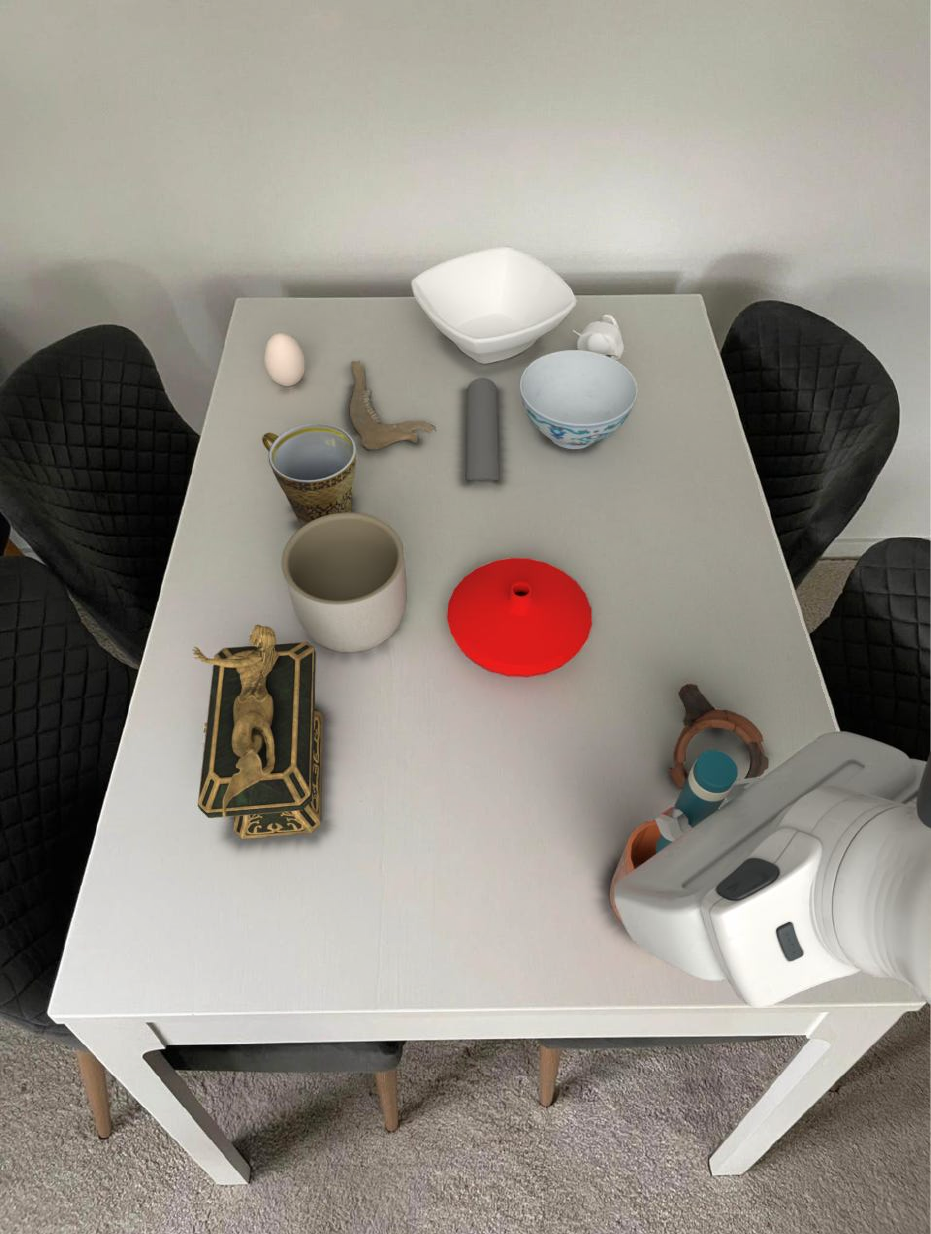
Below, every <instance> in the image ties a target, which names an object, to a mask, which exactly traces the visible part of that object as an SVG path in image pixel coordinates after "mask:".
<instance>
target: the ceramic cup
mask: <svg viewBox="0 0 931 1234" xmlns="http://www.w3.org/2000/svg"><path fill="white" fill-rule="evenodd" d="M261 440H262V444H263V446H264V448H265V449H266V450H267V451H268V464H269V466H270V469H271V470H272V472H273V475H274V477H275V479H276V481H277V483H278V486H279V487H280V488H281V490H282V491H283V493H284V495H285V497H286V499H287V501H288V503H289V505H290V507H291V509H292V511H293V513H294V516H295V517H296V519H297V521H298V522H299V523H300V524H301V525H303V526H304V525H306V524H308V523H309V522H311V521H313V520H315V519H317V518H320V517H323V516H326V515H330V514H335V513H345V512H352V508H353V507H352V506H353V505H352V504H353V503H352V502H353V492H354V480H355V475H356V462H357V461H356V460H357V447H356V442H355V441H354V439H353V438H352V436H351V434H349V433H348V432H347V431H346V430H344V429H342V428H340V427H338V426H335V425H333V424H327V423H320V422H319V423H318V422H317V423H305V424H302V425H297V426H295V427H292V428H290V429H288V430H285V431H284V432H283V433H281V434H280V435H278V434H276V433H273V432H266V433H265V434H263V436H262V437H261ZM270 443H271V444H270Z"/></svg>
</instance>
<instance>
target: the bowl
mask: <svg viewBox="0 0 931 1234" xmlns="http://www.w3.org/2000/svg"><path fill="white" fill-rule="evenodd" d="M410 286H411V290H412V294H413V297H414V299H415V300H416V302H417V303H418V304H419V306H420V307H421V309H422V310H423V311H424V313H425V314H426V316H427V317H428V318H429V320H430V321H431V322H432V323H433V324H434V326H435V327H436V328H437V329H438V330H439V332H441V333H442V334H443V335H444V336H446V337H447V338H448V339H449V340H450V341H452V342H453V343H454V344H455V346H456V347H457V348H458V349H459V350H460V351H461V352H462V353H464V355H466V356H467V357H469V358H471V359H472V360H474V361H476V362H477V363H480V364H492V363H496V362H500V361H504V360H507V359H510V358H513V357H515V356H517V355H519V354H521V353H523V352H524V351H527V350H528V349H530V348H531V347H532V346H533V345H534V344H535V343H536V342H537V341H539V339H540V338H541V337H542V336H543V335H546V334H547V333H549V332H550V331H553V330H555V328H556V327H558V325H560V324H561V323H562V322H563V320H565V318H566V317H567V316H568V315H569V314H570V313H571V311H572V310H573V309H574V308H576V305H577V302H578V301H577V298H576V296H575V294H574V292H573V289H572V288H571V287H570V286H569V285H568V284H567V282H566V281H565V280H564V279H563V277H561V276H560V275H558V273H557V272H555V271H554V270H553V268H551V267H549V266H548V265H546V264H545V263H543V262H542V261H540V260H539V259H538V258H536V257H534V256H532V255H531V254H529V253H526V252H524V251H522V250H519V249H517V248H514V247H512V246H500V247H499V246H497V247H489V248H485V249H481V250H478V251H473V252H470V253H469V252H468V253H466V254H463V255H460V256H455V257H453V258H451V259H448V260H445V261H443V262H441V263H440V262H439V263H438V264H436V265H433V266H432V267H430V268H428V269H426V270H424V271H422V272H421V273H420V274H418V275H417V276H416V277H414V278H413V279H412V280H411V282H410Z"/></svg>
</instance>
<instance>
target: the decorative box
mask: <svg viewBox="0 0 931 1234" xmlns="http://www.w3.org/2000/svg"><path fill="white" fill-rule="evenodd" d="M276 636H277V635H276V632H275V630H273V629H272V628H271V627H270V626H265V625H261V624H258V623H257V624H254V627H253V629H252V631H251V634H250V635H249V636H248V638H249V643H250V644H251V645H243V646H232V647H222V648H221V649H220V650H219V651H218V652H217V653H215V654H214V656H213V658H208V657H206V655H204V653H203V652H202V651H201V649H200V648H198V647H196V646H194V647H193V649H192V651H193V655H194V656H195V657H193V659H195V660H200V662H201V663H204V664H210V665H212V673H211V683H210V690H209V691H210V692H209V700H208V708H207V718H206V722H204V729H203V733H205V736H204V744H203V752H202V753H203V754H202V762H201V771H200V779H199V780H200V781H199V790H198V796H197V797H198V798H197V808H198V809H199V811H200V812H201V813H202V814H204V815H205V816H206V817H207V818H208V819H217V818H223V819H225V818H229V817H231V818H232V817H233V826H232V827H233V828H232V830H233V832H234V833H235V834H236V835H237V836H238V837H239V838H240V839H242V840H249V839H260V838H270V837H271V838H272V837H282V836H294V835H304V834H305V835H306V834H307V835H308V834H312V833H314V832H315V830H317V828H318V827H319V826H320V825H321V822H322V821H321V820H322V770H323V769H322V767H323V766H322V765H323V763H322V762H323V714H322V713H321V712H320V711H319V710H318V709H316V706H315V705H316V703H315V702H316V671H317V670H316V669H317V668H316V667H317V665H316V664H317V661H316V660H317V653H316V648H315V647H314V646H313V645H312V644H310V643H309V642H307V641H298V642H296V641H295V642H285V643H277V638H276ZM196 656H197V657H196Z"/></svg>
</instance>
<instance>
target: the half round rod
mask: <svg viewBox="0 0 931 1234" xmlns="http://www.w3.org/2000/svg"><path fill="white" fill-rule="evenodd" d="M498 401H499V400H498V388H497V384H496V383H495V382H494V381H492V380H491V379H489V378H485V377H480V378H476V379H474V380H472V381H471V382H470V383H469V385H468V388H467V392H466V450H465V451H466V452H465V454H466V456H465V457H466V458H465V459H466V461H465V480H466V481H479V482H480V481H482V482H483V481H484V482H485V481H489V482H490V481H492V482H494V481H496V482H497V481H499V480H500V463H499V462H500V454H499V405H498V404H499V403H498Z"/></svg>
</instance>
